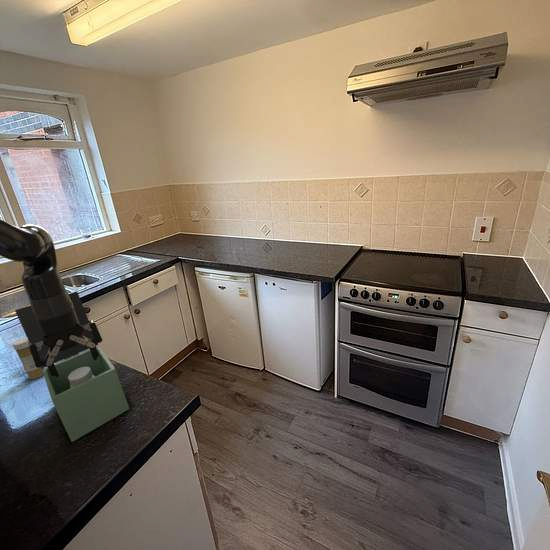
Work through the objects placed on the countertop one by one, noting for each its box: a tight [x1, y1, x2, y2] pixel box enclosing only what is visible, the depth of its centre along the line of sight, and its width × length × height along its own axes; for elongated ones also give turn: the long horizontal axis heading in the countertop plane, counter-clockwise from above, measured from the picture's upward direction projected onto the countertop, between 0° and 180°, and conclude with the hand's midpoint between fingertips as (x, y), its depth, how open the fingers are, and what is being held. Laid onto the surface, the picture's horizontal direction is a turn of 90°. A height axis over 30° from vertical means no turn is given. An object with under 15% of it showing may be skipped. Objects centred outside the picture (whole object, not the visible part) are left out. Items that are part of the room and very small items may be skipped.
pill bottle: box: [68, 367, 95, 388], centre depth 79 cm, size 6×6×11 cm
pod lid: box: [14, 290, 99, 369], centre depth 80 cm, size 16×14×1 cm
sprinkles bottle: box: [12, 336, 45, 380], centre depth 95 cm, size 5×5×13 cm
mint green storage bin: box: [42, 345, 130, 443], centre depth 79 cm, size 16×14×13 cm
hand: (76, 366), depth 76 cm, fingers open, 8 cm apart
